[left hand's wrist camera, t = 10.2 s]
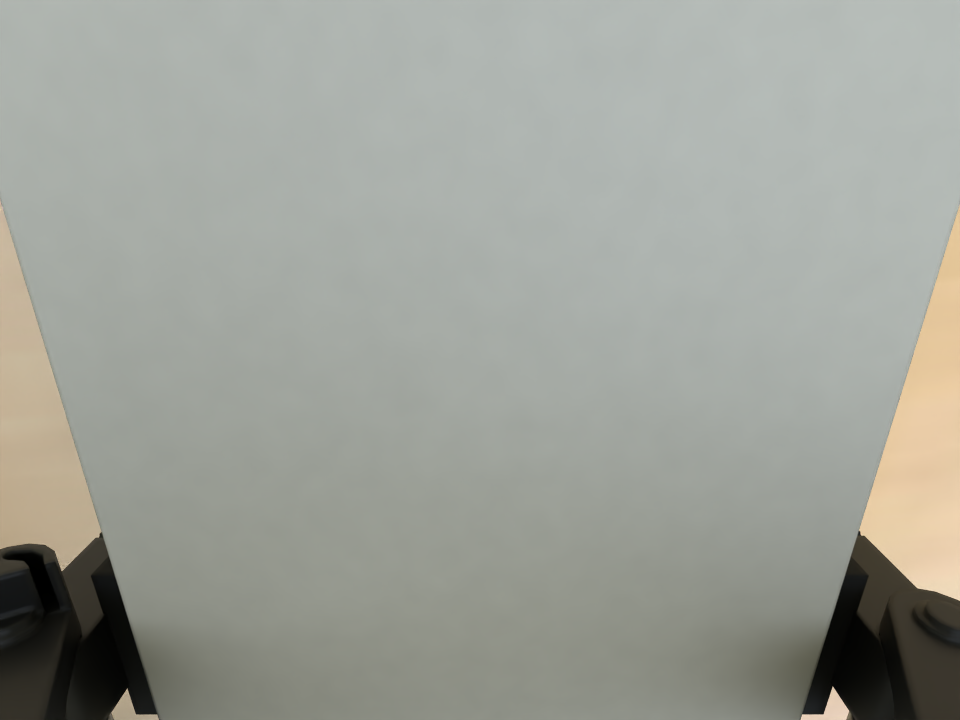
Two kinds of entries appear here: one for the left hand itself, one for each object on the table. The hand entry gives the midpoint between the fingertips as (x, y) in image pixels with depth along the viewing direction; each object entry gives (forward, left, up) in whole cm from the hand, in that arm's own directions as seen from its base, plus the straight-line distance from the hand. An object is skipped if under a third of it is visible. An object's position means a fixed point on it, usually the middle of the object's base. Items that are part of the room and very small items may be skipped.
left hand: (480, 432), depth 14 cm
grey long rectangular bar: (+14, +10, 0) cm, 17 cm away
